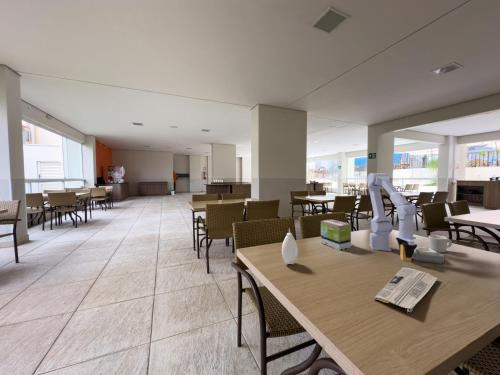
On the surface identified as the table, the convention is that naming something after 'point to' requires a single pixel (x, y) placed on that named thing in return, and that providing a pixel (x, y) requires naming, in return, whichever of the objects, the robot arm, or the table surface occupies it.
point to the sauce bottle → (289, 249)
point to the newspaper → (407, 287)
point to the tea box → (336, 234)
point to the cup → (439, 243)
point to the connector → (403, 254)
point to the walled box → (427, 255)
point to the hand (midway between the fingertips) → (405, 254)
